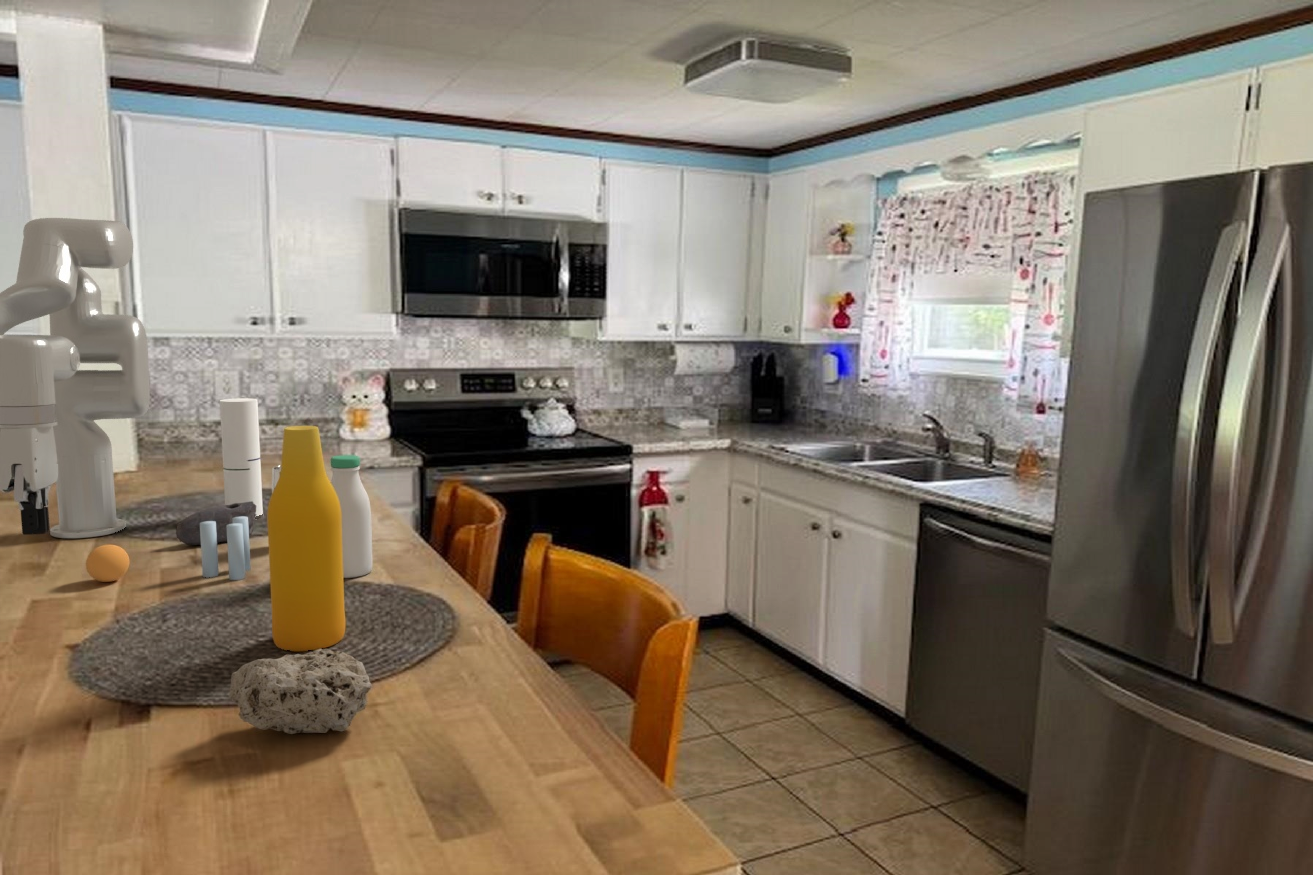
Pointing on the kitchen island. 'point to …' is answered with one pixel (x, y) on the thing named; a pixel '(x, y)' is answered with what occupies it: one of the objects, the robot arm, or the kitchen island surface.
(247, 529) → the pin back right
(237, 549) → the pin back left
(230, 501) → the cylindrical container
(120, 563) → the ball
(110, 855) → the kitchen island surface
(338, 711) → the pumice stone
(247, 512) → the perforated stone tool
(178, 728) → the kitchen island surface
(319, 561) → the beer bottle
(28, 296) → the robot arm
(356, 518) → the milk bottle
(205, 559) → the pin front
